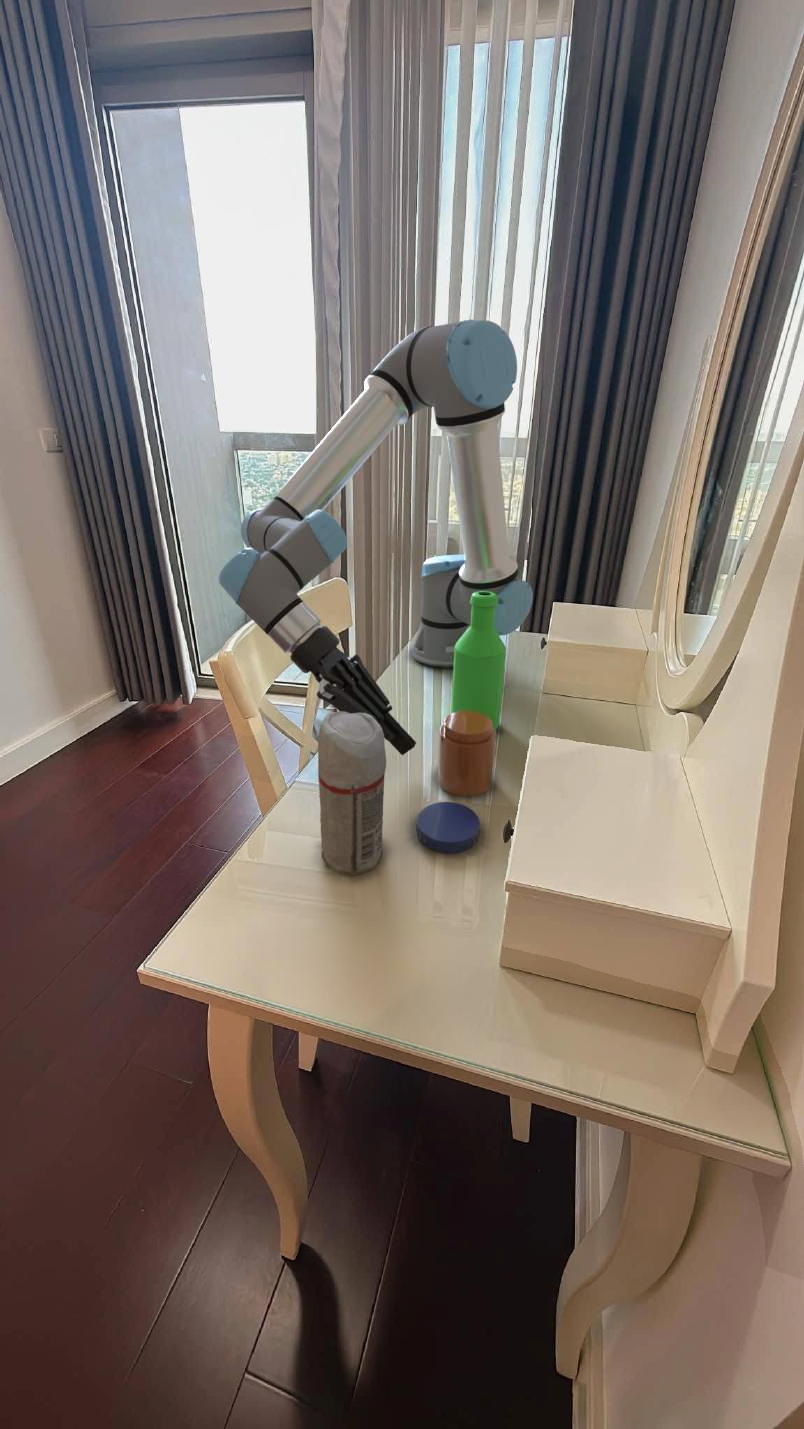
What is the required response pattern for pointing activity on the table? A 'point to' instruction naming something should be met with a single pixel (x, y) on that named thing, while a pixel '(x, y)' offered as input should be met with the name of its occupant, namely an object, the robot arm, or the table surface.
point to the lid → (448, 827)
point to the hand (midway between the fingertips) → (409, 748)
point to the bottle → (479, 662)
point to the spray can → (351, 791)
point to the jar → (466, 753)
